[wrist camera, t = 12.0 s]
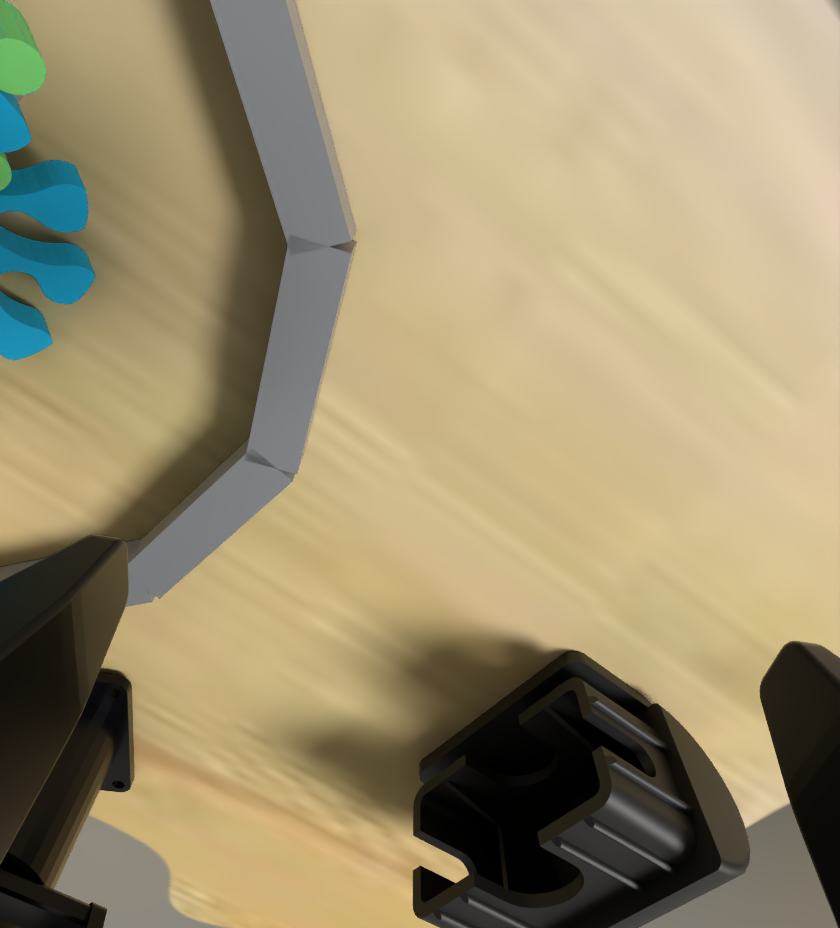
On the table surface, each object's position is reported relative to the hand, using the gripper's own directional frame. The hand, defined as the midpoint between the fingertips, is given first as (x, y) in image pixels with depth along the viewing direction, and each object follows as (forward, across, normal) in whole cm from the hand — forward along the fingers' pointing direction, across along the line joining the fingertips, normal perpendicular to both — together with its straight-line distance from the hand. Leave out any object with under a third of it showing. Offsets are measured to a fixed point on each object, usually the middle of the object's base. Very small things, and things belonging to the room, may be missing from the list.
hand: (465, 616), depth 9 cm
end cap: (+11, -8, +16) cm, 21 cm away
